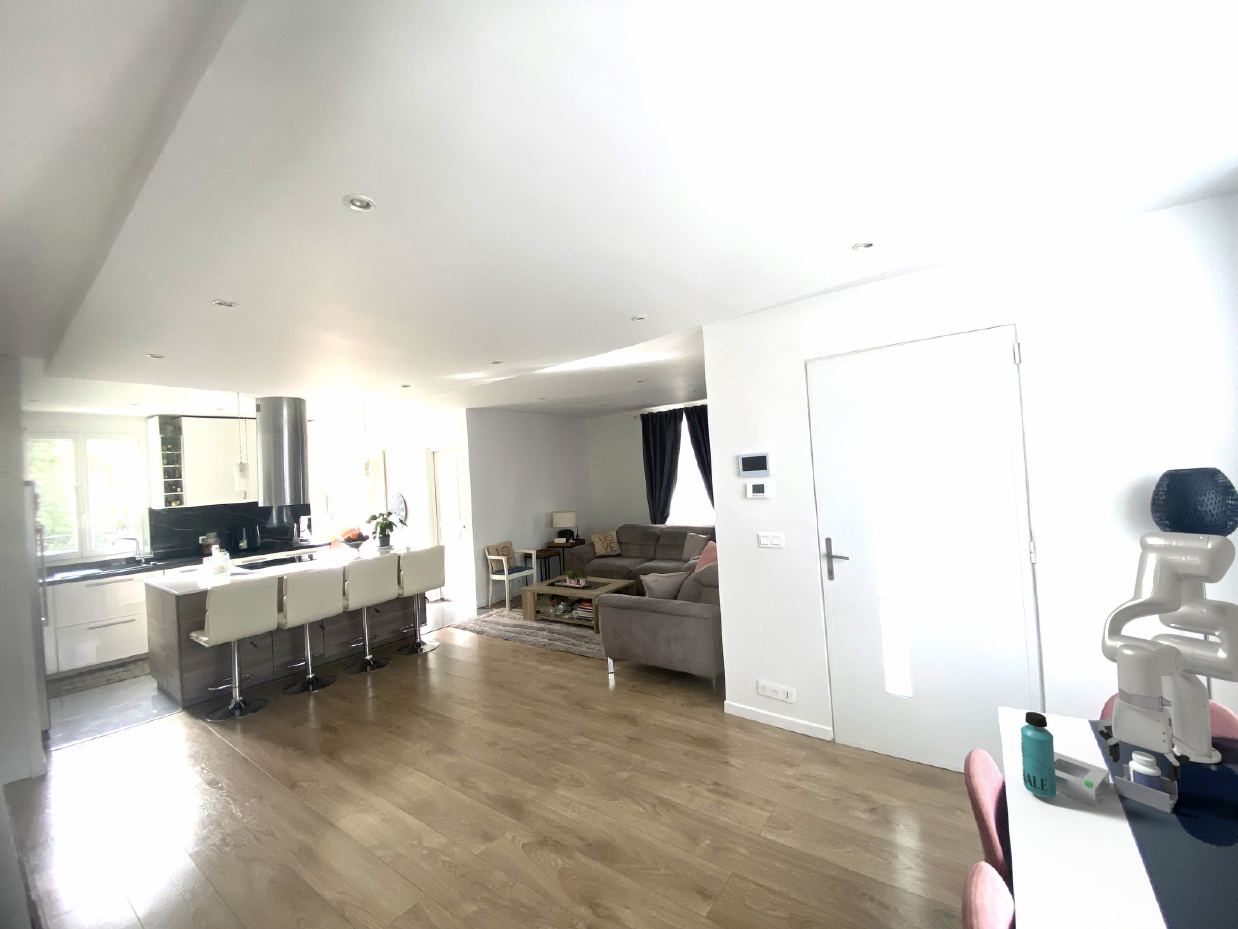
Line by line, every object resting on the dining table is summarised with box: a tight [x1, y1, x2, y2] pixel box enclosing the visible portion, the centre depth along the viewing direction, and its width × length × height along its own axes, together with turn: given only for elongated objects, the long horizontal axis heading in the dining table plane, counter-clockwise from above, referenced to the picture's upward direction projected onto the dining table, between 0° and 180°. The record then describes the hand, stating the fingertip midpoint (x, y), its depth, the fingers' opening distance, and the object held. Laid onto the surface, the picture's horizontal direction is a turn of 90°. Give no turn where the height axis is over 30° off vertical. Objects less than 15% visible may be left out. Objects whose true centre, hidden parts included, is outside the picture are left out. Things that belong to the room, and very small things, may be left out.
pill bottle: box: [1128, 750, 1162, 792], centre depth 122 cm, size 5×5×10 cm
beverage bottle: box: [1020, 711, 1057, 798], centre depth 123 cm, size 6×7×20 cm
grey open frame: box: [1114, 763, 1179, 814], centre depth 122 cm, size 9×9×4 cm
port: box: [1054, 751, 1111, 807], centre depth 127 cm, size 12×12×5 cm
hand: (1143, 769), depth 121 cm, fingers open, 9 cm apart
